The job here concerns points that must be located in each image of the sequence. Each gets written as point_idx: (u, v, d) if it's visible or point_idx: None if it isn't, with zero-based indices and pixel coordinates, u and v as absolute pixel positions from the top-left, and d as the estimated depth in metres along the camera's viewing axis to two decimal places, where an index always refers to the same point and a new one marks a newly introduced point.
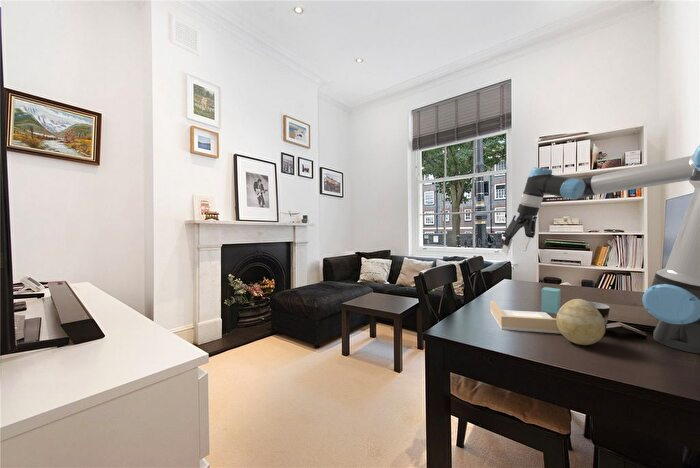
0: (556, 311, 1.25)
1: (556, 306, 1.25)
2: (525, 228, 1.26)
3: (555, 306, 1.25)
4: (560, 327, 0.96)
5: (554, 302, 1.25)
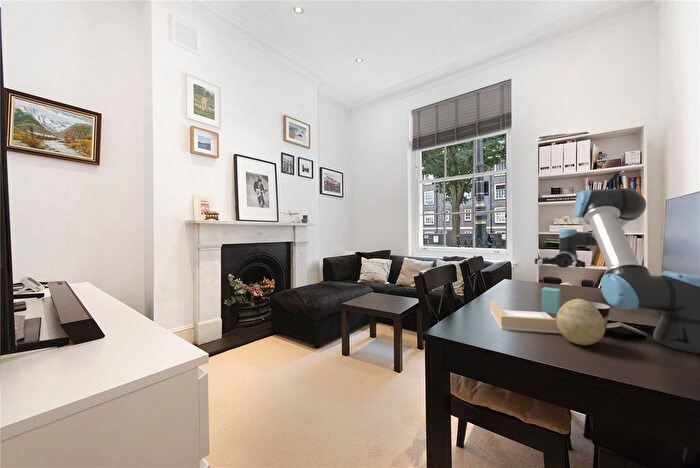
0: (556, 311, 1.25)
1: (556, 306, 1.25)
2: (570, 264, 1.38)
3: (555, 306, 1.25)
4: (560, 327, 0.96)
5: (554, 302, 1.25)
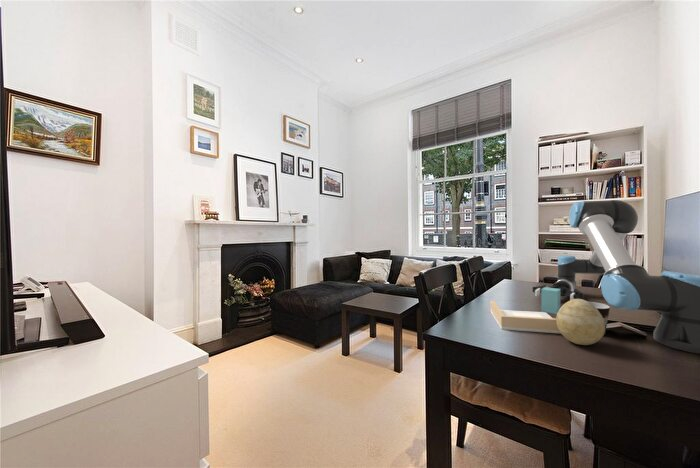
0: (556, 311, 1.25)
1: (556, 306, 1.25)
2: (568, 294, 1.36)
3: (555, 306, 1.25)
4: (560, 327, 0.96)
5: (554, 302, 1.25)
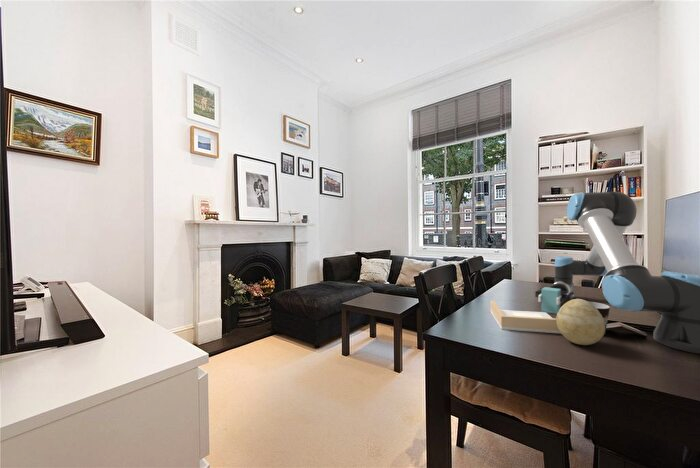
0: (556, 311, 1.25)
1: (556, 306, 1.25)
2: None
3: (555, 306, 1.25)
4: (560, 327, 0.96)
5: (554, 302, 1.25)
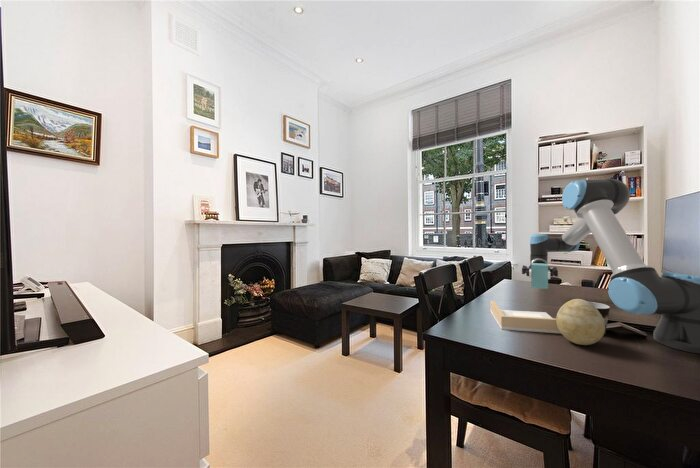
0: (546, 286, 1.21)
1: (546, 281, 1.21)
2: None
3: (545, 281, 1.21)
4: (560, 327, 0.96)
5: (544, 277, 1.21)
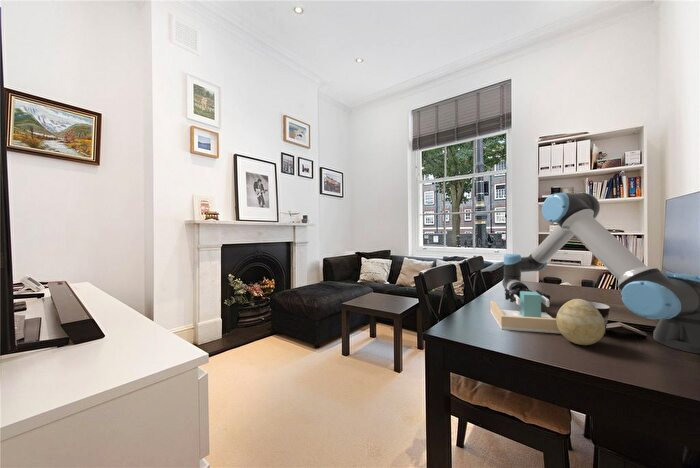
0: (540, 317, 1.15)
1: (539, 311, 1.15)
2: None
3: (538, 311, 1.15)
4: (560, 327, 0.96)
5: (537, 307, 1.15)
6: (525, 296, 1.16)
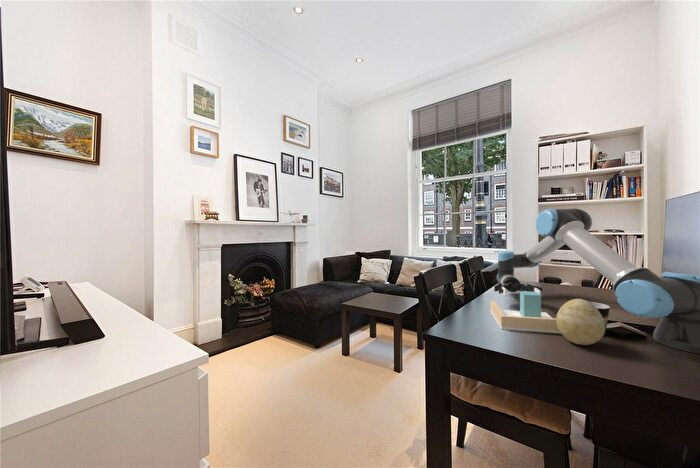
0: (540, 317, 1.15)
1: (539, 311, 1.15)
2: (526, 289, 1.36)
3: (538, 311, 1.15)
4: (560, 327, 0.96)
5: (537, 307, 1.15)
6: (525, 296, 1.16)
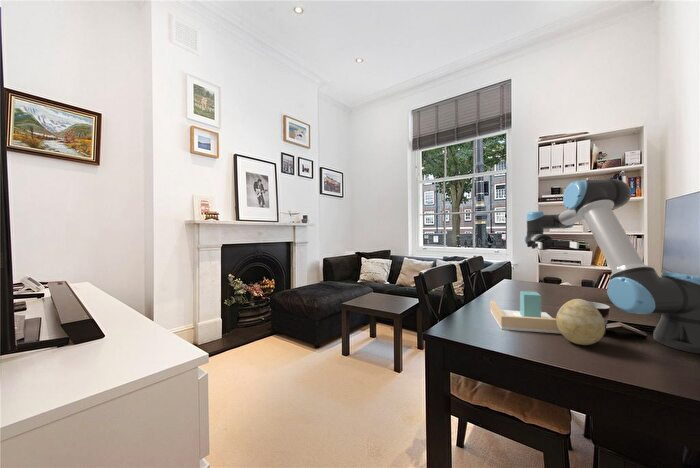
0: (540, 317, 1.15)
1: (539, 311, 1.15)
2: (560, 245, 1.33)
3: (538, 311, 1.15)
4: (560, 327, 0.96)
5: (537, 307, 1.15)
6: (525, 296, 1.16)
